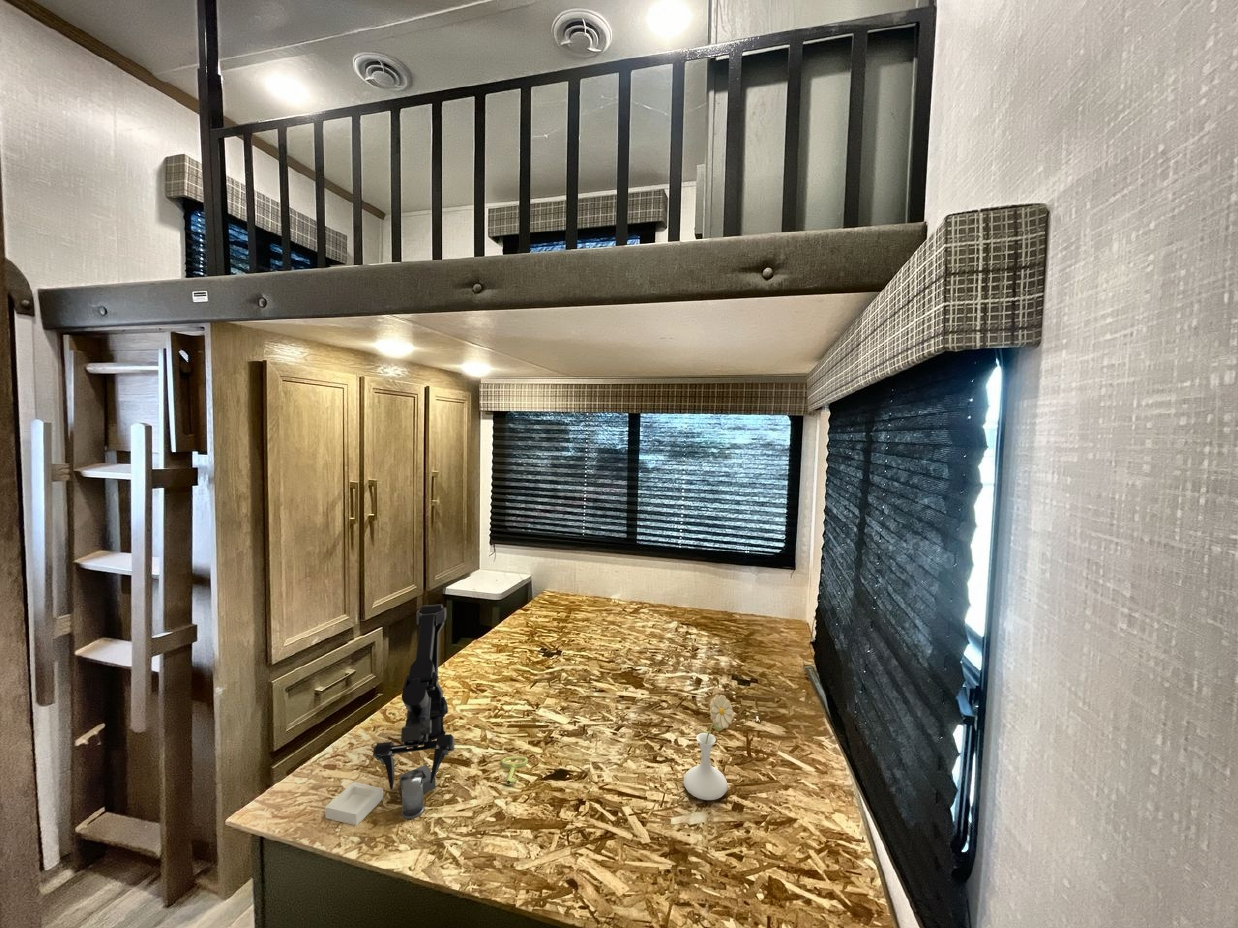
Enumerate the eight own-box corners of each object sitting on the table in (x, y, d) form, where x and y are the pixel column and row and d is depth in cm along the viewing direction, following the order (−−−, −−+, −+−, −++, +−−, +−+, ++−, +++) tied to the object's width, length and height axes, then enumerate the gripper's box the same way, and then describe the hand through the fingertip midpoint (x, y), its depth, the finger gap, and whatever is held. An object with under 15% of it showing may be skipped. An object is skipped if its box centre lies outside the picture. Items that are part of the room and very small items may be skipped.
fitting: (420, 800, 128) (419, 766, 127) (427, 812, 124) (426, 777, 123) (399, 809, 125) (397, 775, 124) (405, 822, 120) (403, 786, 120)
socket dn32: (427, 773, 137) (426, 764, 137) (435, 788, 132) (435, 778, 132) (400, 785, 133) (399, 775, 133) (407, 800, 128) (407, 789, 127)
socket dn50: (353, 792, 131) (353, 781, 130) (383, 798, 128) (382, 788, 128) (325, 818, 122) (325, 807, 122) (356, 825, 120) (356, 814, 119)
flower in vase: (694, 809, 125) (695, 712, 123) (676, 778, 136) (677, 689, 134) (741, 798, 128) (743, 703, 126) (720, 769, 139) (721, 682, 137)
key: (506, 790, 132) (506, 782, 132) (500, 761, 143) (500, 753, 143) (533, 783, 134) (533, 775, 134) (525, 755, 146) (525, 748, 146)
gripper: (373, 712, 125) (362, 785, 115) (452, 703, 129) (448, 773, 119) (382, 725, 133) (372, 794, 123) (456, 716, 137) (452, 783, 127)
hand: (411, 786), depth 123 cm, fingers open, 9 cm apart
